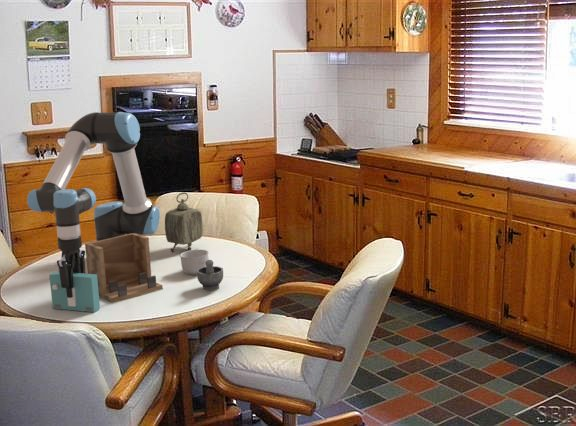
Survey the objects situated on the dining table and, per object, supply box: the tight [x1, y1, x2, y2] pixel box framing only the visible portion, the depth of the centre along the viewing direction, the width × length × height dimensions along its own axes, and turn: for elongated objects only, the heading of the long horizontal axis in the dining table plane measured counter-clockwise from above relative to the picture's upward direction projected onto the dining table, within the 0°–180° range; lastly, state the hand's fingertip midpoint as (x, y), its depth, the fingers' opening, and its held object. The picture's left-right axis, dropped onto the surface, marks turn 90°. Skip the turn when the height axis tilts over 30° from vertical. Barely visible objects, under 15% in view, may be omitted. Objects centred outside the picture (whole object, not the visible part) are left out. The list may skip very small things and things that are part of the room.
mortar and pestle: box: [196, 259, 224, 292], centre depth 270 cm, size 11×9×12 cm
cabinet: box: [84, 233, 164, 304], centre depth 270 cm, size 17×20×18 cm
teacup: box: [179, 248, 210, 276], centre depth 291 cm, size 14×11×8 cm
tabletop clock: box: [164, 192, 204, 253], centre depth 319 cm, size 14×9×25 cm, turn 144°
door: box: [48, 270, 101, 313], centre depth 253 cm, size 5×16×12 cm, turn 73°
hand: (75, 303), depth 254 cm, fingers closed on door, 3 cm apart
